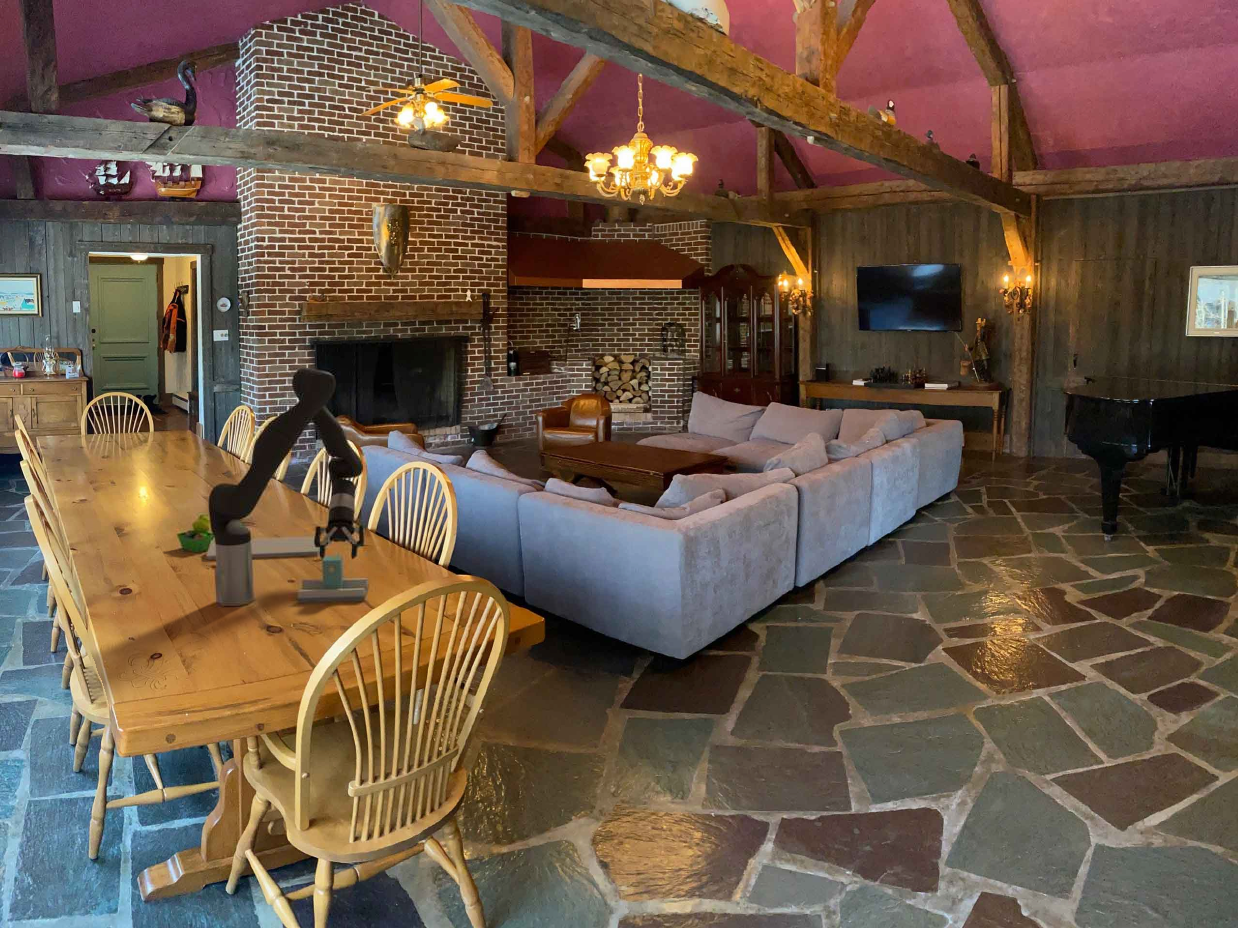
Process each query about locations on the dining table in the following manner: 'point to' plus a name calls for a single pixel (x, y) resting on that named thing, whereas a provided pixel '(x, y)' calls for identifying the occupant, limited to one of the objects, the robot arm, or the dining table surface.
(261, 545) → the light grey long block
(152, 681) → the dining table surface
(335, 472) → the robot arm
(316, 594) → the cleat board
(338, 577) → the teal cabinet block
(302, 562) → the dining table surface
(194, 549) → the fruit basket
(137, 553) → the dining table surface
